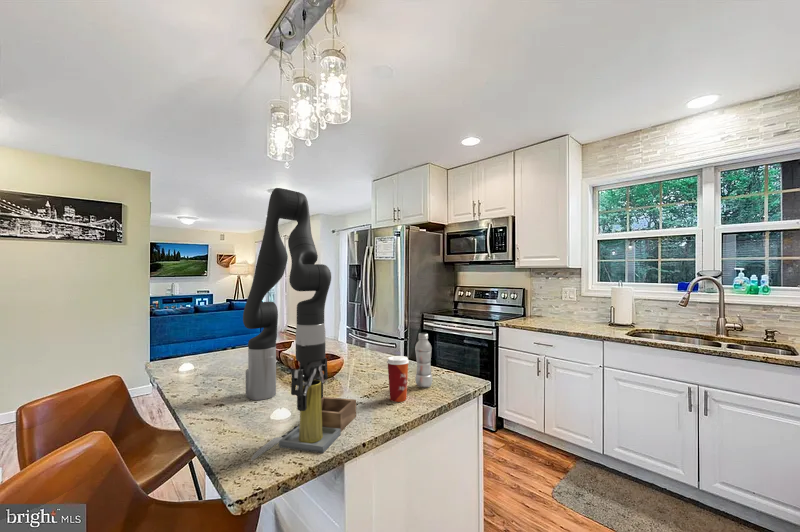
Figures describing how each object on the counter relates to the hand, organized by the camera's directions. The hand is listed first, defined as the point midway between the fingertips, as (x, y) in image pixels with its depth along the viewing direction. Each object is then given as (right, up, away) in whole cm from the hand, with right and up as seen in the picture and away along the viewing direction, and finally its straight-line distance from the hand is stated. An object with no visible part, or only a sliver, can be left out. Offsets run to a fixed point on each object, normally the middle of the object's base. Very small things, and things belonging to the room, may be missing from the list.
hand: (310, 403), depth 89 cm
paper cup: (+22, -10, +29) cm, 38 cm away
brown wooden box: (+3, -10, +11) cm, 15 cm away
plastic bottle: (+32, -10, +42) cm, 54 cm away
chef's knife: (-10, -10, -1) cm, 14 cm away
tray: (0, -9, 0) cm, 9 cm away
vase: (0, -9, 0) cm, 9 cm away
